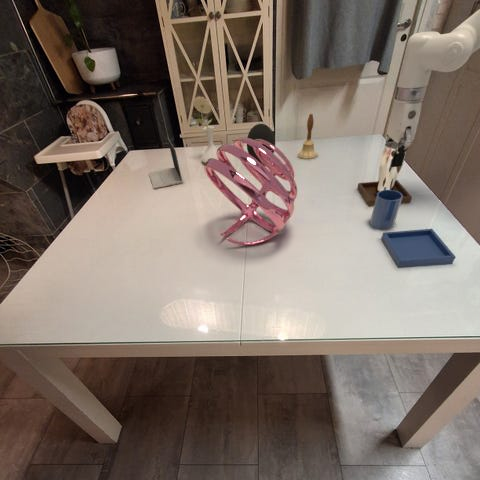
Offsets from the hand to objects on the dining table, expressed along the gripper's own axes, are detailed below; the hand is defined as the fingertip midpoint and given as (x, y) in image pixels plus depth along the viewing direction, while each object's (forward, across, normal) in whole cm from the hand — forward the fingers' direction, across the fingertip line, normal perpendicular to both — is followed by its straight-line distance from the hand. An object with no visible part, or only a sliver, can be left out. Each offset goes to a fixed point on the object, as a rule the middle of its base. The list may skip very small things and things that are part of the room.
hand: (391, 161), depth 96 cm
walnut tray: (+11, 0, 0) cm, 11 cm away
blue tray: (+11, -33, +2) cm, 35 cm away
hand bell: (+11, +44, +19) cm, 49 cm away
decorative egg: (+11, +41, +40) cm, 59 cm away
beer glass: (+10, 0, 0) cm, 10 cm away
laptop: (+11, +33, +83) cm, 90 cm away
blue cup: (+11, -18, +6) cm, 22 cm away
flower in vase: (+11, +49, +63) cm, 81 cm away
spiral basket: (+11, -17, +45) cm, 49 cm away
